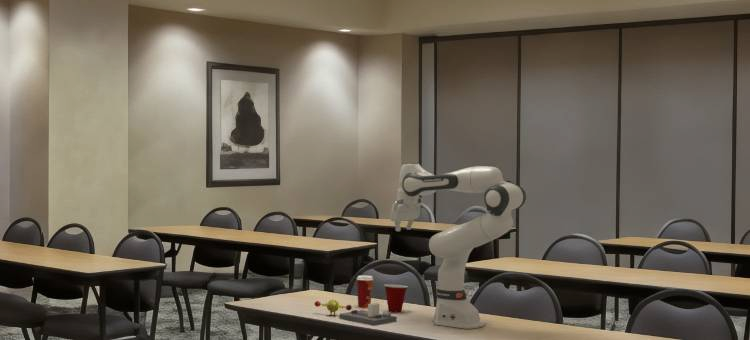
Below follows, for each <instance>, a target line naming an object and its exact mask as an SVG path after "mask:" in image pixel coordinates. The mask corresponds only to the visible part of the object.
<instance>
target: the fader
mask: <svg viewBox="0 0 750 340" xmlns="http://www.w3.org/2000/svg"><path fill="white" fill-rule="evenodd" d="M367 311H368V316H370V317H373V316H376V315H379V314H380V303H378V302H373V303H371V304H368V308H367Z"/></svg>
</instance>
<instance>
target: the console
mask: <svg viewBox="0 0 750 340" xmlns="http://www.w3.org/2000/svg"><path fill="white" fill-rule="evenodd" d="M339 319H340V320H345V321H349V322H355V323H360V324H363V325H364V324H365V325H368V326H369V325H370V326H379V325H385V324H390V323H395V322H397V316H395V315H392V312H389V311H382V313H379V315H376V316H373V317H370V316H368V310H363V309H361V310H358V309H352V310H350V311H349V312H343V313H339Z"/></svg>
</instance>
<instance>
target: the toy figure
mask: <svg viewBox="0 0 750 340" xmlns="http://www.w3.org/2000/svg"><path fill="white" fill-rule="evenodd" d="M314 306H315V307H317V308H318V307H320V306H322V307H326V308H327V310H328V312H329V316H335V317H336V312H337V311H338V310H339V309H344V308H345V310H347V311H352V310H353V309H352V308H353V307H352V305H351V304H347V305H345V306H344V305H340V304H339V302H338V301H337V300H336V299H331V300H329V301H327V302H325V303H321V302H320V301H319V300H316V301H315V302H314Z"/></svg>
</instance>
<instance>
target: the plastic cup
mask: <svg viewBox="0 0 750 340" xmlns="http://www.w3.org/2000/svg"><path fill="white" fill-rule="evenodd" d="M383 286H384V289H385V294H386V295H385V296H386V304H387V309H388V310H387V311H388V312H390V313H402V310H403V306H404V300H405V297H406V292H407V289H408V287H409V286H408V285H401V284H390V283H389V284H384V285H383Z"/></svg>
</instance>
